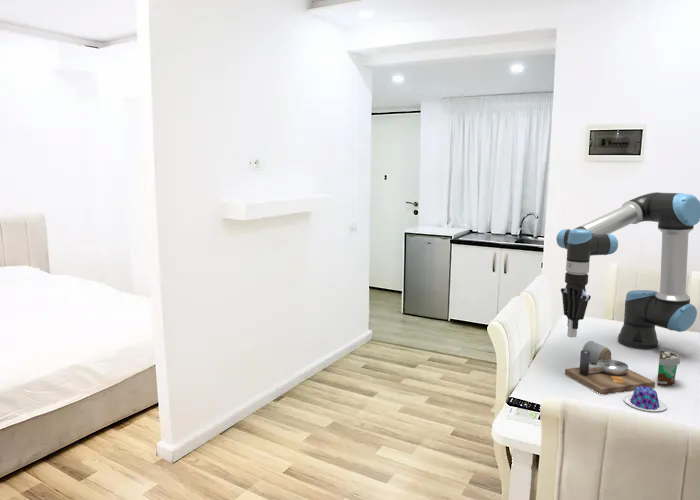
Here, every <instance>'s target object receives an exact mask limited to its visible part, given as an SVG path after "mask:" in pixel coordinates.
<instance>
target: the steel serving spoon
mask: <svg viewBox="0 0 700 500" xmlns="http://www.w3.org/2000/svg"><path fill="white" fill-rule="evenodd" d="M579 367H580V369H579V373H580V374H583V375H588V374H591V373H599V372H604V373H607V374H612V375H625V374H627V373H628V369H629V365H628V364H626V363H625V362H623V361H619V360H616V359H612V360H611V359H601V360H598V361H597V364H594V365H590V351H588V350H583V349H581V350H580V357H579Z"/></svg>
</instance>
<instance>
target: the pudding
mask: <svg viewBox="0 0 700 500" xmlns="http://www.w3.org/2000/svg"><path fill="white" fill-rule="evenodd" d="M627 398H631V399H630V400H629V402H631V403H632V404H630V403H628V402H627V401H626V399H627ZM622 399H623V402H625V403H626V404H628V406H630V407H633V408H636V409H639V410H642V411H647V412H663V411H665V410H666V409H667V407H668V406H667V404H666V403H665V402H664V401H662V400H660V399H659V397H658V392H657V391H656V390H655V388H650V387H646V386H638V387H636V388H635V390H633V392H632V394H627V395H625V396H623V398H622Z"/></svg>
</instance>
